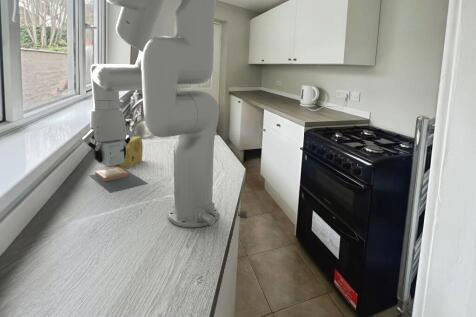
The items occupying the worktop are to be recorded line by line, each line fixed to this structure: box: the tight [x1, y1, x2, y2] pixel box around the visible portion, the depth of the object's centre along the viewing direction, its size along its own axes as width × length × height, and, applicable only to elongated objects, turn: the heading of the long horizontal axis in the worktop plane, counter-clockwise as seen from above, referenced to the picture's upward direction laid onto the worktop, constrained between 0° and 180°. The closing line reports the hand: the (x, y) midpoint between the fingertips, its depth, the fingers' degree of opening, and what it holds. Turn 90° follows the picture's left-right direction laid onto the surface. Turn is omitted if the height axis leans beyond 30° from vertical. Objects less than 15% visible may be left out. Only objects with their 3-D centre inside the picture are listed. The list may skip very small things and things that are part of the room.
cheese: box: [113, 135, 144, 169], centre depth 115 cm, size 10×11×10 cm
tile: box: [94, 166, 129, 181], centre depth 102 cm, size 1×8×8 cm
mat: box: [88, 168, 149, 194], centre depth 99 cm, size 18×12×1 cm, turn 44°
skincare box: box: [97, 140, 124, 167], centre depth 100 cm, size 6×6×7 cm
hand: (110, 159), depth 100 cm, fingers closed on skincare box, 7 cm apart
